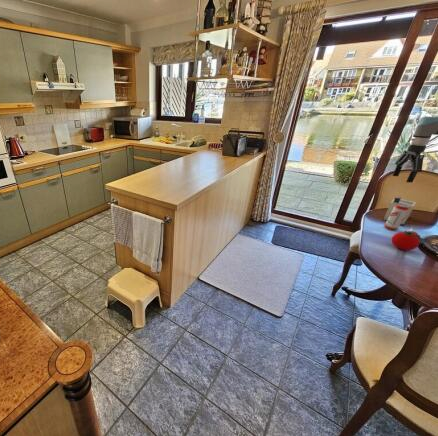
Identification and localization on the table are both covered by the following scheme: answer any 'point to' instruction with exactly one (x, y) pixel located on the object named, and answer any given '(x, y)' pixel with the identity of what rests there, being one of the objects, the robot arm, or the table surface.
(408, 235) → the tomato
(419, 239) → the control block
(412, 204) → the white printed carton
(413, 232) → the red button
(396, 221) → the beer can
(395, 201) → the slider
